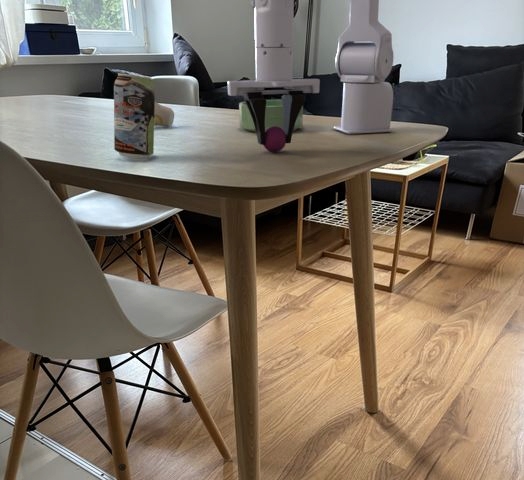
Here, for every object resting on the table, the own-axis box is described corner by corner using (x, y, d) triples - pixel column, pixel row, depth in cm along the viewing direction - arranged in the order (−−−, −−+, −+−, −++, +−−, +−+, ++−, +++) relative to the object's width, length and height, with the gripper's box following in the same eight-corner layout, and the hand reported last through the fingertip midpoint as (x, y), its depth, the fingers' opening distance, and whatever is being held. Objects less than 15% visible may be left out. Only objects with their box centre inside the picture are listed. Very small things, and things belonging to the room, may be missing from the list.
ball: (282, 149, 87) (282, 124, 85) (289, 153, 84) (289, 127, 82) (259, 150, 86) (259, 125, 84) (265, 155, 83) (265, 128, 81)
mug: (180, 129, 110) (153, 85, 103) (142, 150, 112) (113, 109, 105) (180, 116, 115) (154, 73, 108) (144, 136, 117) (117, 96, 111)
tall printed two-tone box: (108, 158, 82) (95, 73, 75) (147, 152, 86) (138, 71, 80) (130, 163, 78) (117, 74, 71) (169, 157, 82) (161, 72, 76)
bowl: (291, 123, 115) (291, 98, 112) (311, 131, 104) (312, 104, 101) (234, 126, 112) (233, 101, 109) (248, 135, 101) (247, 107, 99)
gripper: (233, 48, 72) (236, 149, 79) (328, 47, 75) (323, 144, 82) (223, 48, 78) (227, 142, 85) (312, 46, 81) (309, 137, 88)
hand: (274, 143), depth 84 cm, fingers closed on ball, 4 cm apart
